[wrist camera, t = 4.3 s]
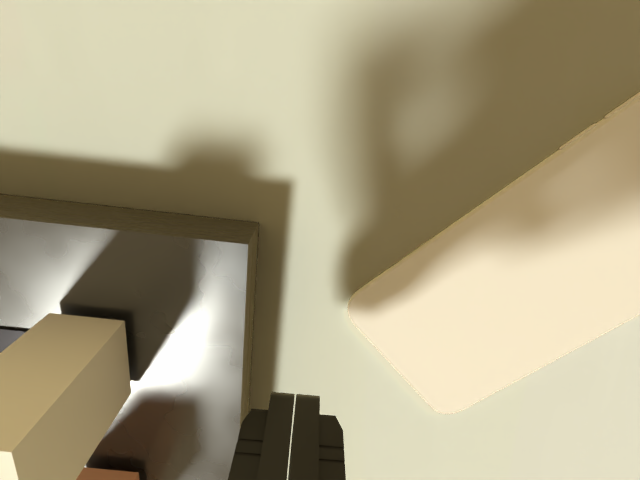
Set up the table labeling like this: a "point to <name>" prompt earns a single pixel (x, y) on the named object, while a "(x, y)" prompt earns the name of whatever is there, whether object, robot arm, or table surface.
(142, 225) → the console
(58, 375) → the fader
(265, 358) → the table surface
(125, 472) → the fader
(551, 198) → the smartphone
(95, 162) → the table surface
